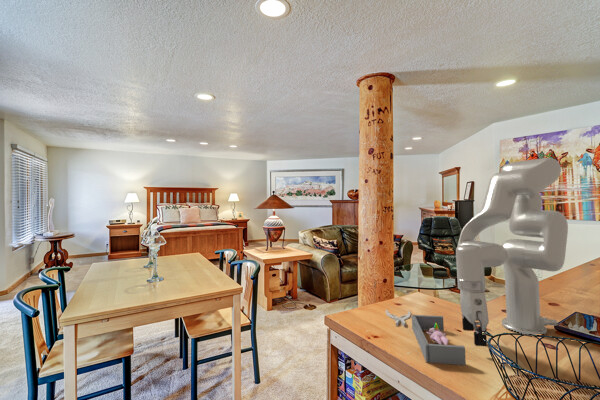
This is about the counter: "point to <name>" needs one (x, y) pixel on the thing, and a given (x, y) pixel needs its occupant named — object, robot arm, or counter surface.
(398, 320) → the pliers
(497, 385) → the counter surface
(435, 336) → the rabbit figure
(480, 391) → the counter surface
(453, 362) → the box
